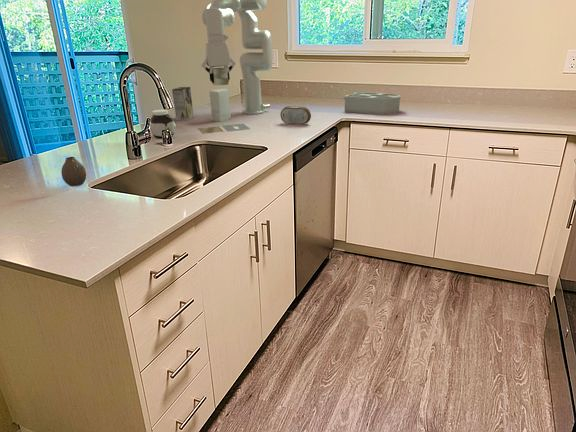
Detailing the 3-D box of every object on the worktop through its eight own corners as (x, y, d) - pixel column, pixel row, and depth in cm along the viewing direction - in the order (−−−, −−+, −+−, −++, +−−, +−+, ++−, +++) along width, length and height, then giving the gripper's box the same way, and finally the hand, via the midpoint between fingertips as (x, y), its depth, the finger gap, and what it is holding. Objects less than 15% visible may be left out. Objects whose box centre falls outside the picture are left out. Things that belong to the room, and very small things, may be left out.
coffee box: (183, 117, 238) (179, 86, 232) (194, 117, 237) (190, 86, 231) (175, 120, 230) (171, 89, 224) (187, 120, 229) (183, 89, 222)
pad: (218, 127, 211) (218, 126, 211) (224, 132, 201) (224, 131, 201) (198, 129, 208) (197, 128, 208) (202, 134, 198) (202, 133, 198)
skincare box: (222, 118, 231) (220, 88, 225) (232, 119, 228) (229, 88, 222) (211, 121, 225) (208, 90, 219) (221, 122, 222) (218, 91, 215)
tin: (311, 124, 212) (311, 106, 209) (309, 125, 210) (309, 107, 206) (282, 122, 217) (281, 105, 214) (280, 124, 214) (279, 106, 211)
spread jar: (154, 140, 191) (150, 113, 186) (149, 135, 200) (144, 109, 196) (181, 136, 196) (177, 110, 191) (175, 131, 205) (171, 106, 201)
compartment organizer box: (356, 107, 252) (356, 91, 249) (403, 110, 238) (404, 94, 235) (343, 112, 239) (344, 96, 236) (393, 116, 225) (394, 99, 222)
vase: (69, 181, 142) (62, 155, 138) (91, 180, 142) (85, 154, 139) (61, 188, 135) (54, 161, 132) (83, 187, 136) (77, 160, 132)
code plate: (243, 124, 216) (243, 123, 216) (250, 130, 204) (250, 129, 203) (221, 126, 212) (221, 125, 212) (227, 132, 200) (227, 131, 200)
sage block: (225, 83, 202) (224, 67, 199) (228, 84, 196) (227, 68, 194) (212, 84, 200) (210, 68, 197) (215, 85, 194) (213, 69, 192)
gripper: (233, 38, 196) (236, 80, 204) (195, 39, 191) (199, 82, 198) (237, 38, 190) (240, 81, 197) (198, 40, 184) (202, 84, 192)
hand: (220, 81), depth 198 cm, fingers closed on sage block, 6 cm apart
